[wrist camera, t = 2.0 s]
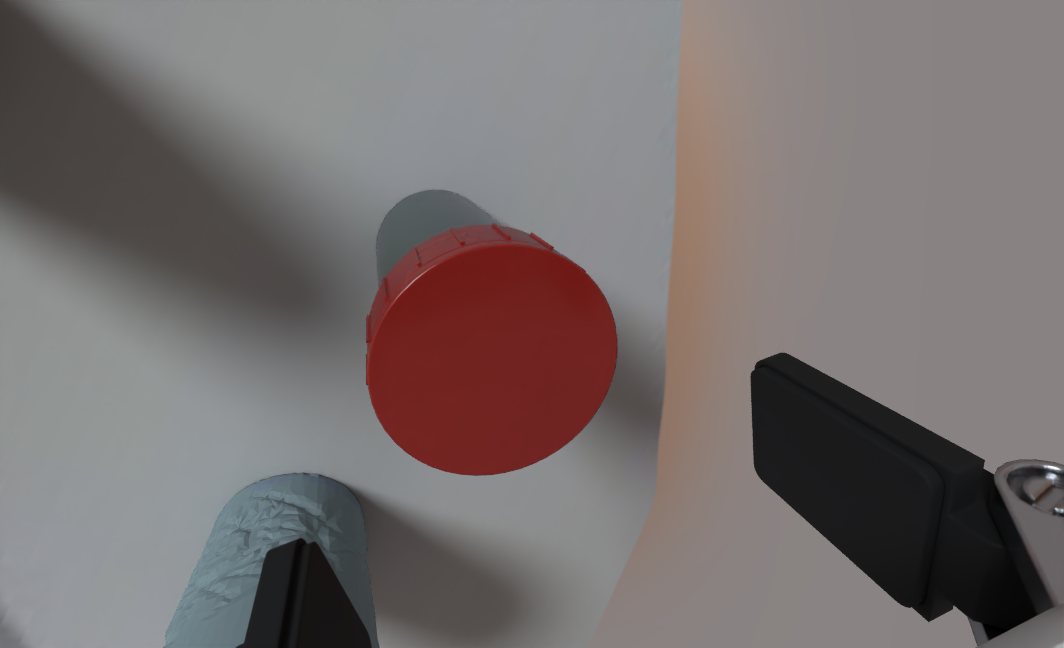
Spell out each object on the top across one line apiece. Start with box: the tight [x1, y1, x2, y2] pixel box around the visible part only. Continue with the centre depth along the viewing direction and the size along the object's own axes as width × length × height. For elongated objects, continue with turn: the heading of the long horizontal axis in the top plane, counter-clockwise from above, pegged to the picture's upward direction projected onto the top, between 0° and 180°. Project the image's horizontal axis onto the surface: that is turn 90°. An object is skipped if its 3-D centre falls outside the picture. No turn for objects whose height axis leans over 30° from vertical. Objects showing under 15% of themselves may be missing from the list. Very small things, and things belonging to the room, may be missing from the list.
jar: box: [376, 190, 502, 290], centre depth 21 cm, size 7×7×14 cm
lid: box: [366, 223, 617, 476], centre depth 16 cm, size 8×8×3 cm
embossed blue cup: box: [163, 473, 380, 648], centre depth 26 cm, size 10×10×12 cm
